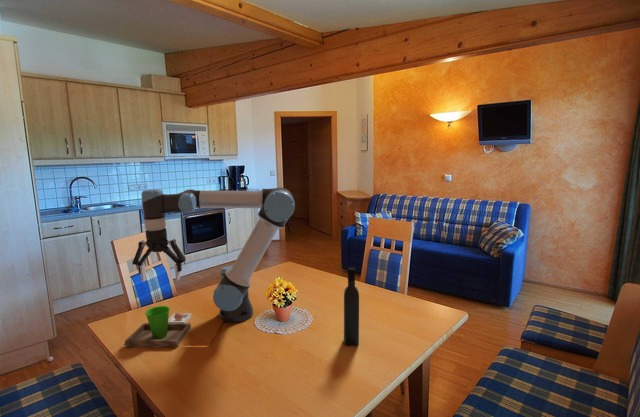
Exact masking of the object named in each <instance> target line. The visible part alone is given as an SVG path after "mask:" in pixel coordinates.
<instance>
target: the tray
mask: <svg viewBox="0 0 640 417" xmlns="http://www.w3.org/2000/svg"><path fill="white" fill-rule="evenodd" d="M191 329H192V324H191V322H186V323H168V329H167V335H166V337H164V338H162V339H154V338H153V336H152V332H151V329H150V325H149V322H144V323H142V324H141V325H140V326H139V327H138V328H137V329H136V330H135V331H134V332H133V333H132V334H130V336H128V338H126V339H125V340H124V347H125V348H128V349H130V348H131V349H132V348H133V349H135V348H138V349H140V348H142V349H143V348H145V349H146V348H148V349H150V348H151V349H153V348H155V349H156V348H158V349H161V348H167V349H169V348H172V349H173V348H175V349H176V348H178V347H179V345H180V343H181V342H182V341H183V340H184V338H185V337H186V336H187V334H188V333H189V332H190V331H191Z"/></svg>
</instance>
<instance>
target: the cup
mask: <svg viewBox="0 0 640 417" xmlns="http://www.w3.org/2000/svg"><path fill="white" fill-rule="evenodd" d="M170 310H171V308H170V306H168V305H157V306H153V307H150V308H148V309H147V310H145V313H144V315H145V316H146V319H147V320H148V322H147V323H149V325H150V329H151V332H152V336H153V338H154V339H162V338H164V337H166V335H167V329H168V319H169V318H170V317H169V316H170Z"/></svg>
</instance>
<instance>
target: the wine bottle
mask: <svg viewBox="0 0 640 417" xmlns="http://www.w3.org/2000/svg"><path fill="white" fill-rule="evenodd" d="M356 274H357V273H356V268H355V267H347V286H346V287H345V288H344V291H343V344H344V345H345V344H346V345H345V346H355V345H356V346H358V345H360V344H359V343H360V342H359V341H360V294H359V292H360V291H359V289H358V287H356Z"/></svg>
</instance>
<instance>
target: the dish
mask: <svg viewBox="0 0 640 417" xmlns="http://www.w3.org/2000/svg"><path fill="white" fill-rule="evenodd" d="M175 314H176V313H173V314H172V315H171V316H170V317H169V318H168V323H188V321H189V320H190V318H192V316H193V315H192V313H182V314H183V318H182V319H181V320H179V321H177V320H176V319H175V317H174V316H175Z"/></svg>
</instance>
